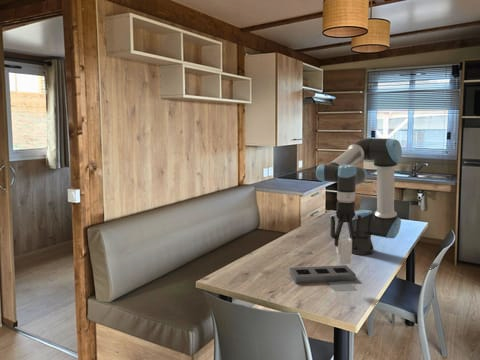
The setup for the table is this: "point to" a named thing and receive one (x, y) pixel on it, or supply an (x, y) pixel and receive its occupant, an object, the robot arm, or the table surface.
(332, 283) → the slate pad
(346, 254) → the steel block
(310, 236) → the table surface
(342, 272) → the grey slotted block
